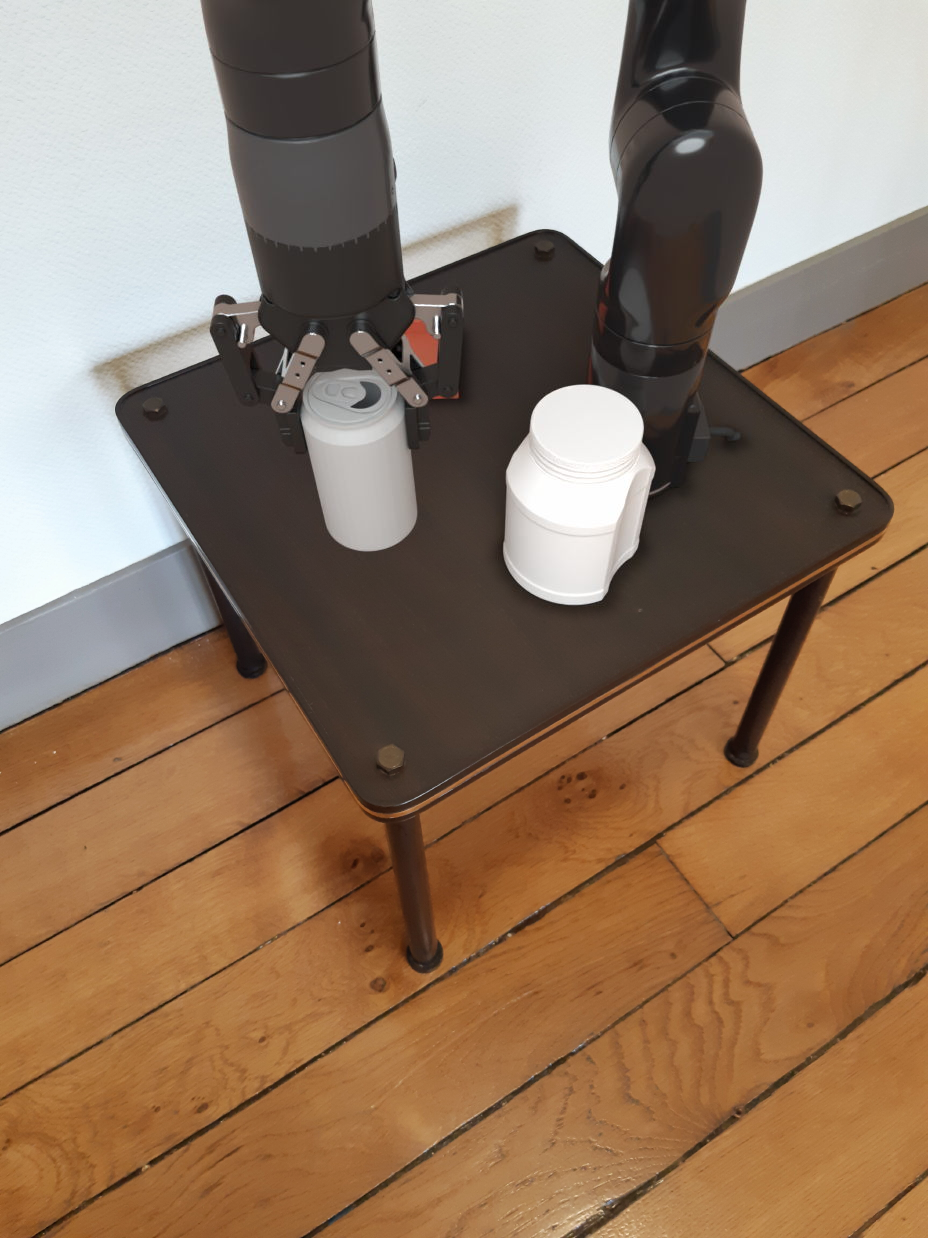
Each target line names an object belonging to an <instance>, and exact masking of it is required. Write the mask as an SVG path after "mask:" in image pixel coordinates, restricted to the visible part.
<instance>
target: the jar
mask: <svg viewBox="0 0 928 1238" xmlns="http://www.w3.org/2000/svg"><path fill="white" fill-rule="evenodd" d="M643 431H644V425H643V419H642V416H641V414H640V412H639V410H638V409H637V408H636V406H635V405H634V404H633V403H632V402H631V401H630V400H629V399H627V398H626V397H624V396H623V395H621V394H620V393H618V392H616V391H613V390H611V389H608V388H605V387H600V386H595V385H586V384H574V385H568V386H563V387H561V388H557V389H556V390H553V391H551V392H550V393H547V394H546V395H545V396H543V398H541V399H540V400H539V401H538V403H536V405H535V407H534V409H533V411H532V413H531V417H530V423H529V432H528V433H527V435H526V436H525V438H524V439H522V440H523V441H522V442H521V443H520V444H519V446H518V447H517V448H516V450H515V451H514V453H513V454H512V456H511V459H510V461H509V463H508V465H507V468H506V471H505V485H506V496H505V523H504V540H503V543H502V544H503V545H502V548H503V549H502V553H503V559H504V563H505V566H506V568H507V570H508V572H509V573H510V575H511V576H512V578H513V579H514V580H515V581H516V582H517V584H518V585H520V586H521V587H522V588H523V589H525V590H526V591H527V592H529V594H532V595H534V596H535V597H537V598H539V599H542V600H545V601H547V602H550V603H553V604H559V605H565V606H566V605H567V606H581V605H582V606H583V605H588V604H589V605H590V604H593V603H596V602H597V603H599V602H600V601H602V600H604V597H605V596H606V595H607V593H608V592H609V589H610V588H609V587H610V584H611V581H612V580H613V578H614V575H615V574H616V573H617V571H618V570H619V569H620V567H621V566H623V564H625V562H626V561H628V560H630V559H632V558H633V556H634V555H635V553H636V551H637V550H638V548H639V543H640V534H641V530H642V525H643V520H644V517H645V512H646V508H647V503H648V500H649V499H648V495H649V490H650V486H651V481H652V479H653V477H654V473H655V469H656V468H655V464H654V461H653V458H652V456H651V454H650V452H649V451H648V449H647V448H646V446H645V445H644V444H643V443H642V437H643Z"/></svg>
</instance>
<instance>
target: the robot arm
mask: <svg viewBox="0 0 928 1238" xmlns="http://www.w3.org/2000/svg"><path fill="white" fill-rule="evenodd" d="M199 2H200V9H201V15H202V20H203V24H204V25H203V26H204V31H205V35H206V42H207V45H208V50H209V54H210V58H211V62H212V67H213V72H214V75H215V80H216V82H217V88H218V93H219V97H220V100H221V104H222V109H223V113H224V119H225V124H226V133H227V144H228V145H227V146H228V154H229V161H230V162H229V163H230V166H231V167H230V168H231V171H232V176H233V180H234V184H235V188H236V192H237V195H238V201H239V204H240V208H241V214H242V217H243V222H244V226H245V229H246V234H247V238H248V242H249V246H250V250H251V254H252V260H253V263H254V267H255V271H256V272H255V273H256V276H257V280H258V284H259V288H260V292H261V293H260V295H259V299H258V300H255V301H247V302H241V303H238V302H237V300H236V299H235V298H234V297H233V296H232V295H230V294H224V293H223V294H219V295H217V296H216V297H215V298H214V304H213V309H212V314H211V320H210V321H211V322H210V325H209V334H210V337H211V339H212V342H213V344H214V346H215V349H216V350H217V352H218V356H219V358H220V360H221V362H222V364H223V367H224V369H225V372H226V374H227V376H228V378H229V381H230V384H231V385H232V388H233V390H234V393H235V395H236V397H237V399H238V402H239V403H240V404H241V405H243V406H245V407H254V406H257V405H258V404H259V403H260V404H264V405H267V406H269V407H271V409H272V410H273V411H274V414H275V418H276V421H277V426H278V429H279V433H280V437H281V440H282V442H283V444H285V446H286V447H293V451H294V453H295V455H308V454H309V451H308V447H307V443H306V439H305V434H304V430H303V426H302V422H301V417H300V409H301V405H302V402H303V395H302V393H301V392H302V391H304V388H305V386H306V384H307V382H308V381H309V380H308V379H309V377H310V376H311V373H312V371H313V369H316V373H317V372H333V371H336V370H340V369H351V370H358V371H364V370H372V366H373V368H374V369H375V370H376V371H377V372H378V374H379V375H380V376H381V377H382V378H383V379H384V381H385V382H386V383H387V384H388V385H389V386H390V387H392V386H394V387H395V388H396V389H397V390H398V391H399V392H400V394H401V395H402V396H403V397H404V398H405V417H406V427H407V436H408V446H409V450H411V451H412V450H421V442H425V441H429V440H430V439H429V438H430V436H431V413H430V401H432V400H433V399H432V398H434V397H436V396H439V395H440V396H441V397H443V398H450V399H453V398H452V397H454V396H456V395H457V393H458V389H459V390H460V377H461V376H460V375H461V365H462V354H463V341H464V329H465V313H464V312H465V311H464V294H463V290H462V289H461V288H460V286H458V285H455V284H449V285H446V286H444V287H443V288H442V289H441V290H440V291H441V292H440V294H423V293H422V294H420V293H415V292H414V290H413V289H412V287H411V286H410V284H409V283H408V282H407V280H406V276H405V273H404V263H403V262H404V261H403V260H404V259H403V252H402V251H403V250H402V242H401V241H402V239H401V231H400V230H401V228H400V219H399V207H398V197H397V184H396V183H397V179H398V178H397V177H398V174H397V173H398V172H397V165H396V160H395V157H394V153H393V146H392V145H393V144H392V137H391V132H390V128H389V124H388V118H387V115H386V111H385V107H384V100H383V95H382V83H381V82H382V81H381V73H380V64H379V63H380V61H379V50H378V42H377V31H376V22H375V13H374V7H373V0H199ZM747 2H748V0H628V4H627V12H626V21H625V27H624V35H623V41H622V49H621V55H620V61H619V70H618V74H617V81H616V86H615V87H616V88H615V93H614V99H613V104H612V110H611V111H612V112H611V117H610V123H609V130H608V131H609V132H608V157H609V158H608V159H609V164H610V169H611V173H612V177H613V181H614V182H613V183H614V186H615V190H616V194H617V210H616V220H615V227H614V233H613V234H614V235H613V242H612V248H611V254H610V258H608V259H607V260H606V262H605V263H604V264H603V266H602V269H601V270H600V274H599V278H598V282H597V290H596V297H595V307H594V315H593V316H594V317H593V322H592V323H593V324H592V332H591V339H590V346H589V354H588V362H587V368H586V369H587V370H586V377H585V378H586V379H585V385H595V386H600V387H605V388H608V389H611V390H613V391H616V392H618V393H620V394H621V395H623V396H624V397H626V398H627V399H629V400H630V401H631V402H632V403H633V404H634V405H635V406H636V408H637V409H638V410H639V412H640V414H641V416H642V419H643V425H644V431H643V437H642V443H643V444H644V445H645V446H646V448H647V449H648V451H649V452H650V454H651V456H652V458H653V461H654V464H655V468H656V469H655V473H654V477H653V479H652V481H651V486H650V490H649V495H648V499H647V500H650V499H653V498H655V497H658V496H660V495H662V494H663V493H665V492H666V491H668V489H670V488H680V487H681V486H682V483H683V479H684V475H685V472H686V469H687V468H686V467H687V464H688V463H703V462H704V461H705V459H706V455H707V451H708V450H709V449H708V448H709V445H710V442H711V436H724V438H725V440H726V441H727V442H735V441H738V440H740V439H741V433H740V431H739V430H736V431H735V430H734V428H731V427H728V426H720V425H719V426H718V425H717V426H716V425H715V426H714V425H708V420H707V417H706V413H705V408H704V404H703V403H704V402H703V400H702V399H700V395H699V391H698V390H699V386H700V383H701V378H702V374H703V370H704V367H705V363H706V359H707V355H708V351H709V347H710V344H711V338H712V335H713V331H714V327H715V323H716V320H717V316H718V313H719V309H720V307H722V305H723V304H724V302H725V301H726V300H727V299H728V297H729V295H730V293H731V292H732V290H733V288H734V285H735V283H736V281H737V280H736V279H737V277H738V275H739V271H740V268H741V264H742V261H743V258H744V255H745V251H746V249H747V245H748V242H749V239H750V236H751V232H752V229H753V226H754V222H755V219H756V216H757V211H758V209H759V208H758V207H759V204H760V199H761V194H762V187H763V182H764V181H763V179H764V163H763V157H762V153H761V150H760V148H759V144H758V142H757V139H756V137H755V135H754V131H753V130H752V129H753V128H752V127H751V124H750V122H749V119H748V116H747V114H746V111H745V109H744V106H743V105H744V104H743V101H742V95H741V94H742V93H741V66H742V65H741V63H742V50H743V40H744V29H745V18H746V11H747V10H746V9H747ZM414 319H419V320H421V321H422V322H424V324H425V326H426V330H427V332H428V333H429V334H430V335H432V336H433V338H434V339H435V340H438V352H437V363H434V364H431V365H428V366H424V364H423V363H422V362H421V361H420V359H419V358H418V357H417V355H416V354H415V353H414V352H413V350H412V349H411V346H410V343H409V341H408V339H407V337H406V336H405V334H404V333H405V332H406V331H407V329H408V328H409V327H410V326H411V324H412V323H413V321H414ZM258 327H261V328H262V329H263V330H264V331H265V332H266V333H267V334H269V336H271V337H272V338H273V339H274V340H275V341H277V342H278V343H279V344H280V345H281V346H282V347H284V350H283V354H282V357H281V359H280V360H279V364H278V366H277V368H276V370H275V372H270V371H266V370H263V368H262V365H261V362H260V359H259V357H258V355H257V351H256V349H255V346H254V344H253V342H254V340H255V333H256V329H257V328H258Z"/></svg>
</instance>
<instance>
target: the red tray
mask: <svg viewBox="0 0 928 1238" xmlns="http://www.w3.org/2000/svg"><path fill="white" fill-rule="evenodd" d="M404 334H405V336H406V337H407V339H408V341H409V343H410V346H411V349H412V350H413V352H414V353H415V354H416V355H417V357H418V358H419V359H420V361H421V362H422V363H423V364H424V366H428V365H431V364H434V363H437V352H438V340H435V339H434V338H433V336H432V335H430V334H429V333H428V332H427V330H426V326H425V324H424V322H422V321H421V320H419V319H414V321H413V323H412V324H411V326H410V327H409V328H408V329H407V331H406V332H405V333H404ZM459 391H460V388H459V389H458V393H457V395H456V396H454V397H452V398H443V397H441V396H440V395H439V396H436V397H434V398H432V399H431V400H441V399H442V400H443V399H444V400H446V399H447V400H449V399H459V398H460V392H459Z"/></svg>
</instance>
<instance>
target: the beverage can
mask: <svg viewBox="0 0 928 1238" xmlns="http://www.w3.org/2000/svg"><path fill="white" fill-rule="evenodd" d="M308 379H309V380H307V382H306V384H305V386H304V388H303V390H302V391H303V392H302V401H303V402H302V405H301V409H300V417H301V422H302V426H303V430H304V434H305V439H306V443H307V447H308V455H309V459H310V464H311V467H312V472H313V476H314V481H315V484H316V489H317V493H318V497H319V502H320V506H321V511H322V514H323V519H324V522H325V527H326V530H327V531H328V534H330V536H331V537H332V538H333V540H335V542H337V543H338V544H339V545H342V546H343V547H345V548H347V549H351V550H354V551H359V552H376V551H382V550H385V549H389V548H391V547H393V546H395V545H397V544H399V543H400V542H402V541H403V540H404V539H405V538H406V537H408V535H409V534H410V533H411V532H412V530H413V529H414V527H415V525H416V523H417V520H418V519H417V518H418V504H417V503H418V502H417V494H416V485H415V477H414V468H413V458H412V457H413V456H412V449H411V450H409V446H408V436H407V427H406V417H405V398H404V397H403V396H402V395H401V394H400V392H399V391H398V390H397V389H396V388H395V387H394V386H392V387H390V386H389V385H388V384H387V383H386V382H385V381H384V379H383V378H382V377H381V376H380V375H379V374H378V372H377V371H376V370H375V369H374V368H373V366H372V370H364V371H358V370H351V369H340V370H336V371H333V372H317V371H316V373H314V374H313V375H312V376H311V377H310V378H308Z"/></svg>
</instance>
